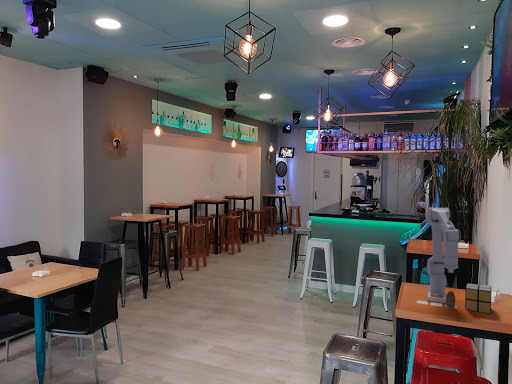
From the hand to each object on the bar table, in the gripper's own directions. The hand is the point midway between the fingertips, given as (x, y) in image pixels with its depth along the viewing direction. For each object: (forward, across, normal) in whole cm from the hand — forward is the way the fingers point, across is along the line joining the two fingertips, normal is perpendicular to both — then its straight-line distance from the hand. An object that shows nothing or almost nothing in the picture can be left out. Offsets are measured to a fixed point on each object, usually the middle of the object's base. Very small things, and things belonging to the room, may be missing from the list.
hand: (450, 285), depth 179 cm
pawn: (+9, +2, 0) cm, 9 cm away
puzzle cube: (+10, -2, +12) cm, 16 cm away
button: (+10, -6, -6) cm, 13 cm away
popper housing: (+10, -6, -6) cm, 13 cm away
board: (+10, +2, -6) cm, 11 cm away
